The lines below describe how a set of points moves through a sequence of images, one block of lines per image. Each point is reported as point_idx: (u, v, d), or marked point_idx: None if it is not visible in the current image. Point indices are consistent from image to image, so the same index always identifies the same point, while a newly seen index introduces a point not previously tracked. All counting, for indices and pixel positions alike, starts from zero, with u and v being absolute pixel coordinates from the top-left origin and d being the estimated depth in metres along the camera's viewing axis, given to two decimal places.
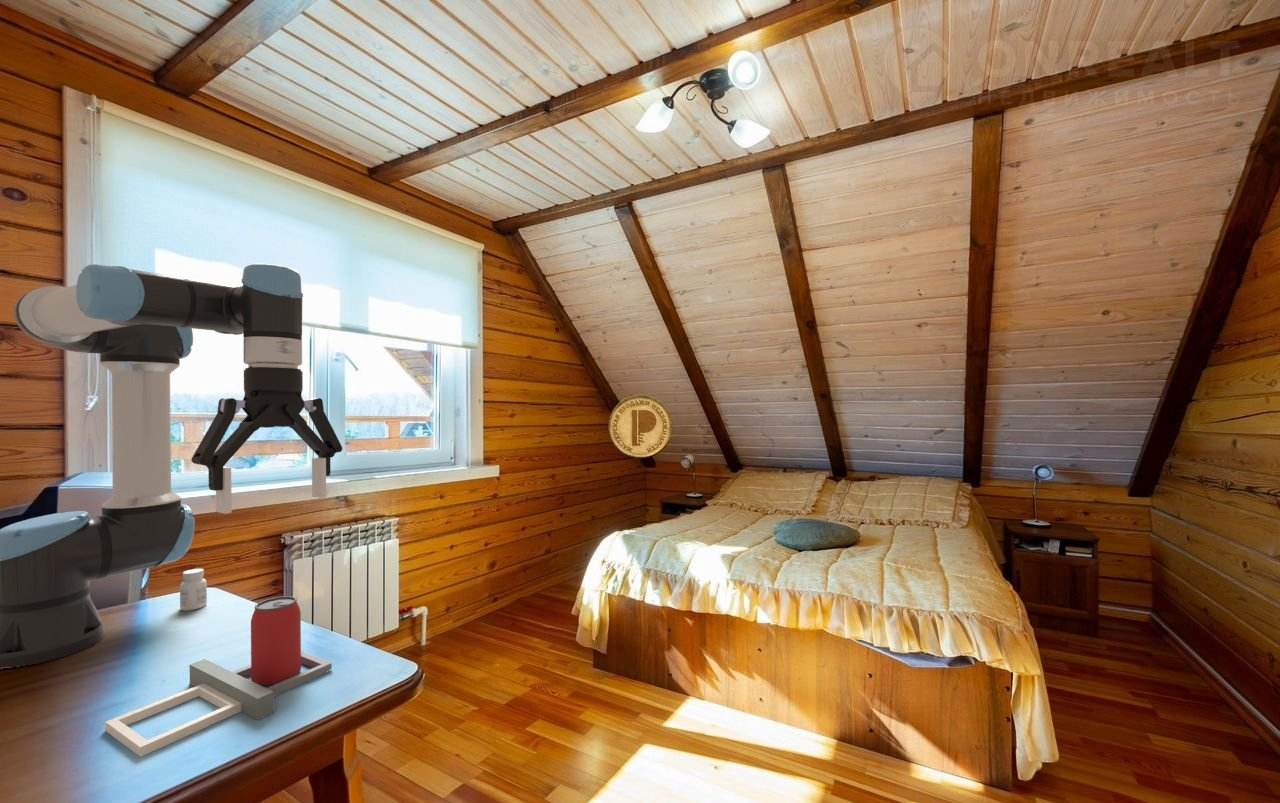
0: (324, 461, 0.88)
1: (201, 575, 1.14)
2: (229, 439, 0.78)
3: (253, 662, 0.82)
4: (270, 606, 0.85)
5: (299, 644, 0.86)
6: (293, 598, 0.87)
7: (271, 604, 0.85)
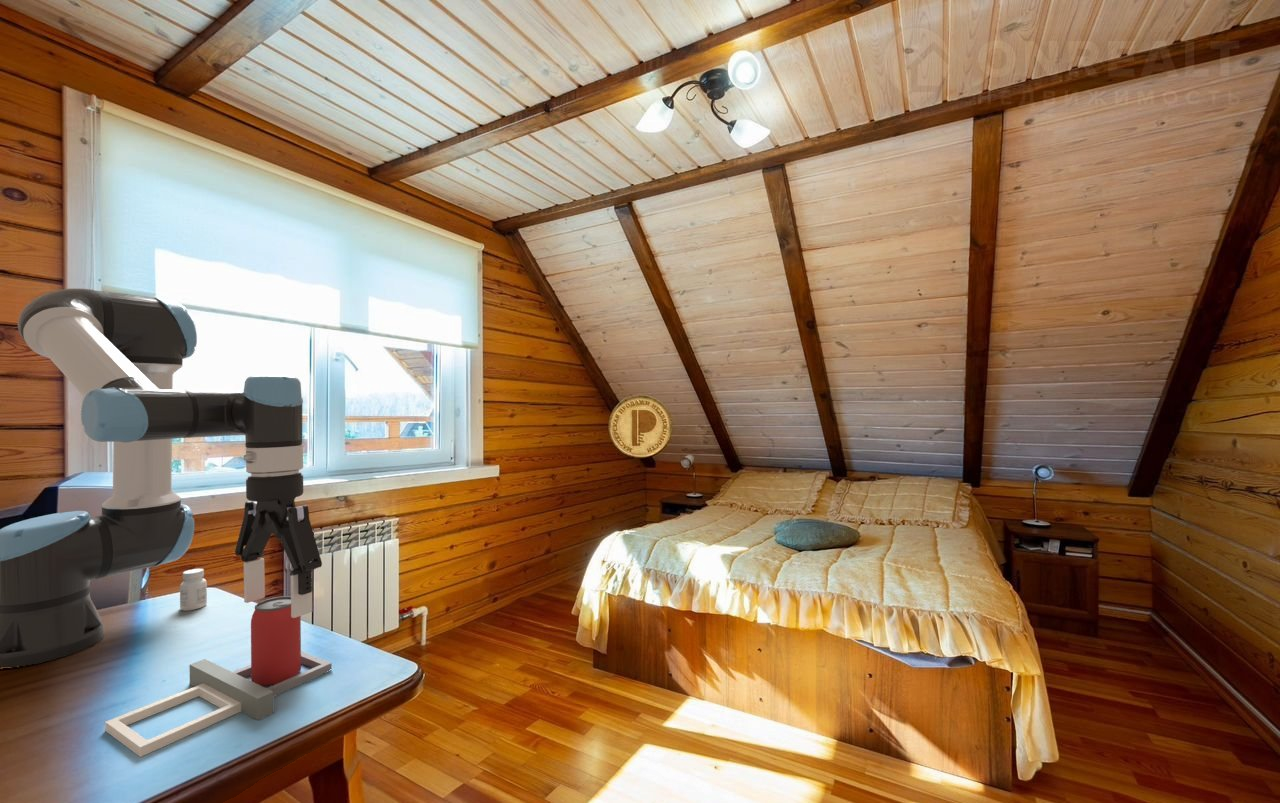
0: (292, 578, 0.80)
1: (201, 575, 1.14)
2: None
3: (253, 662, 0.82)
4: (270, 606, 0.85)
5: (299, 644, 0.86)
6: None
7: (271, 604, 0.85)
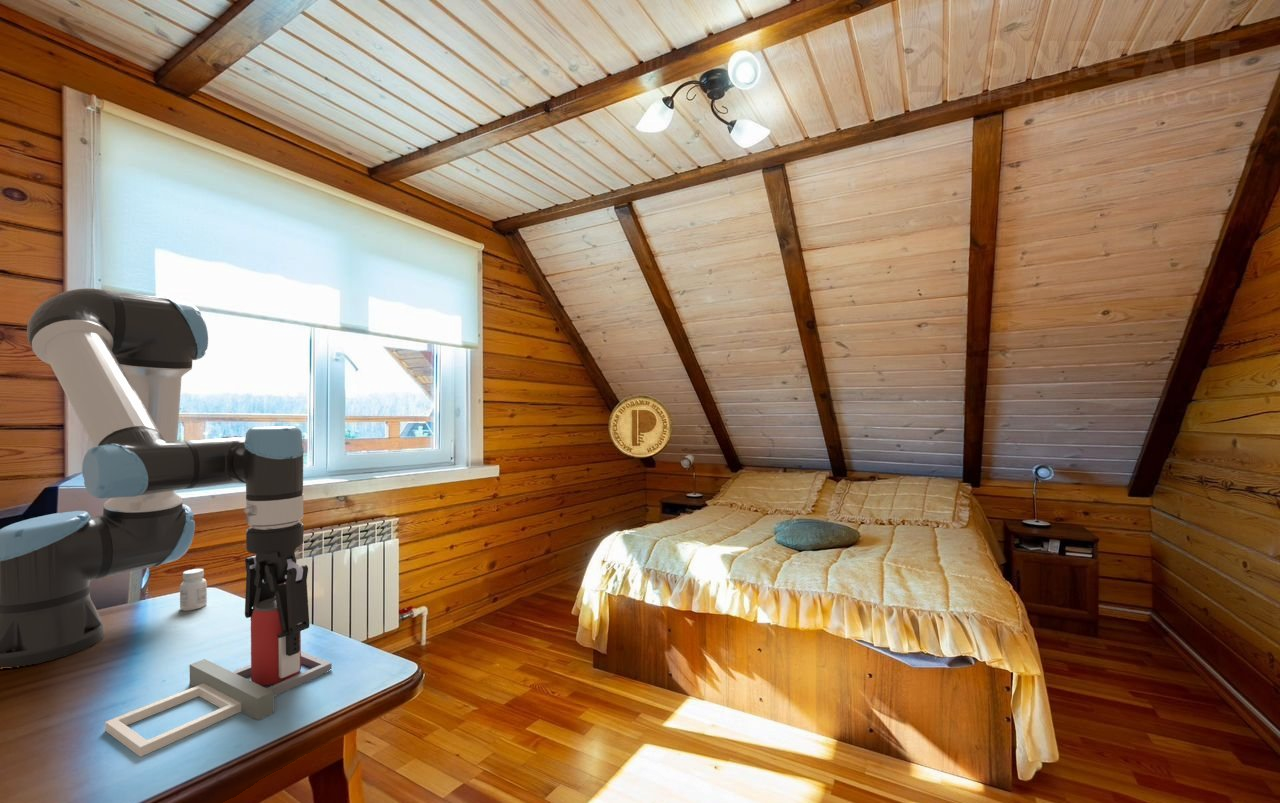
0: (280, 639, 0.82)
1: (201, 575, 1.14)
2: None
3: (252, 662, 0.82)
4: (270, 605, 0.85)
5: None
6: None
7: (271, 604, 0.85)
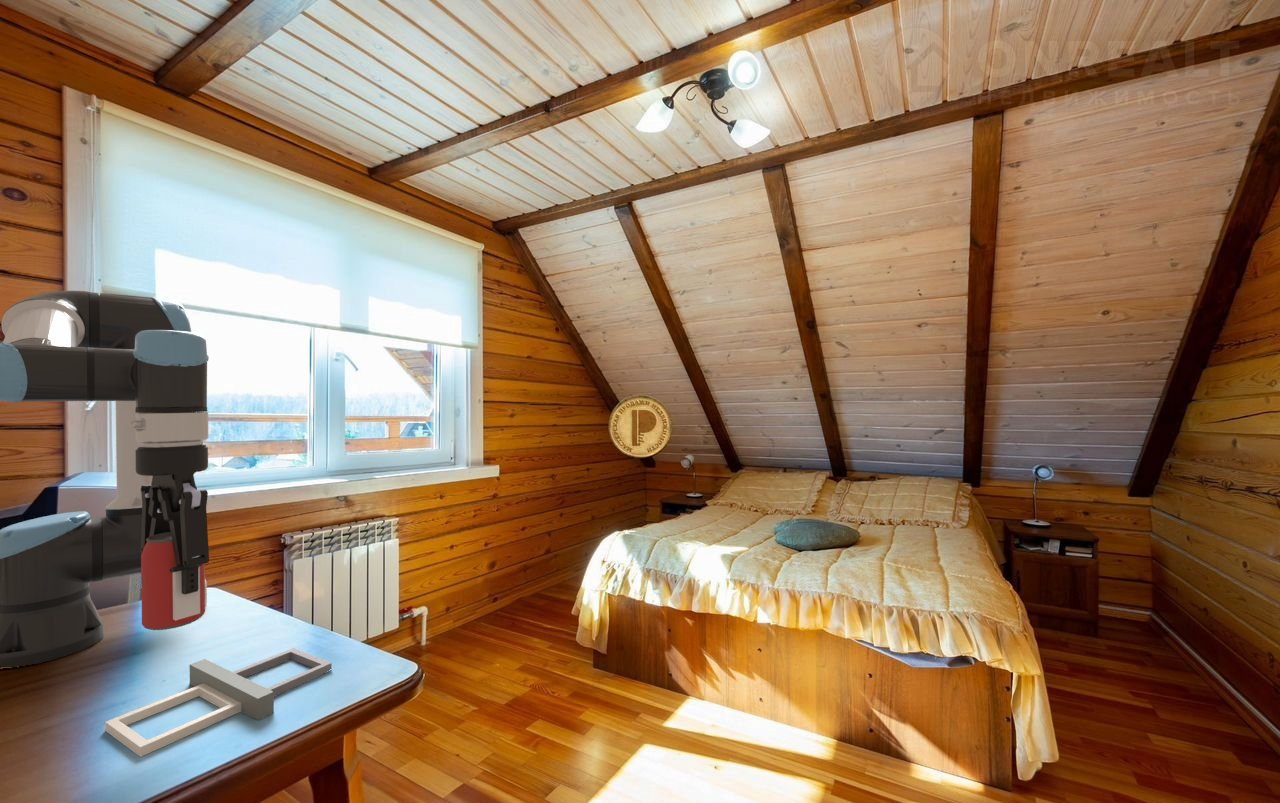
0: (174, 575, 0.71)
1: None
2: None
3: (142, 602, 0.71)
4: (166, 538, 0.73)
5: (201, 584, 0.74)
6: None
7: (168, 537, 0.74)
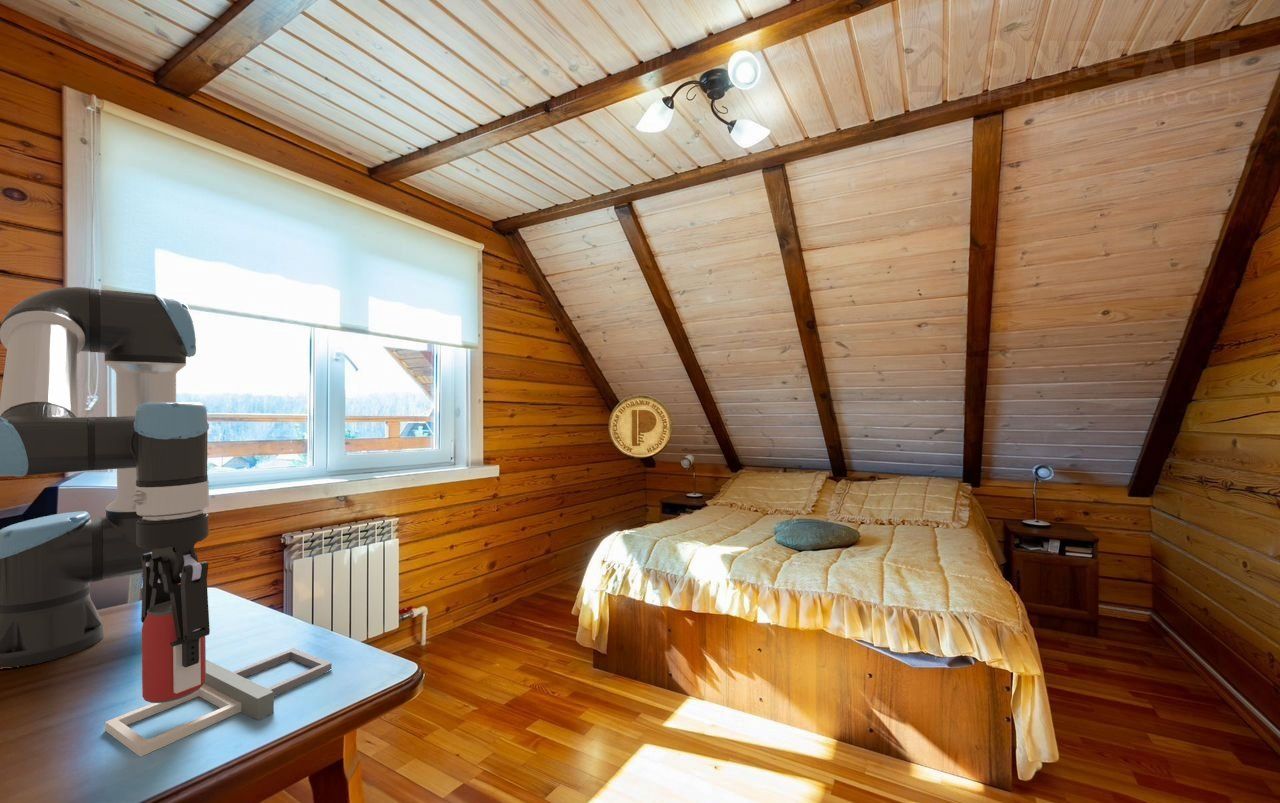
0: (174, 648, 0.71)
1: None
2: None
3: (143, 675, 0.71)
4: (166, 609, 0.73)
5: (202, 653, 0.74)
6: None
7: (168, 607, 0.74)
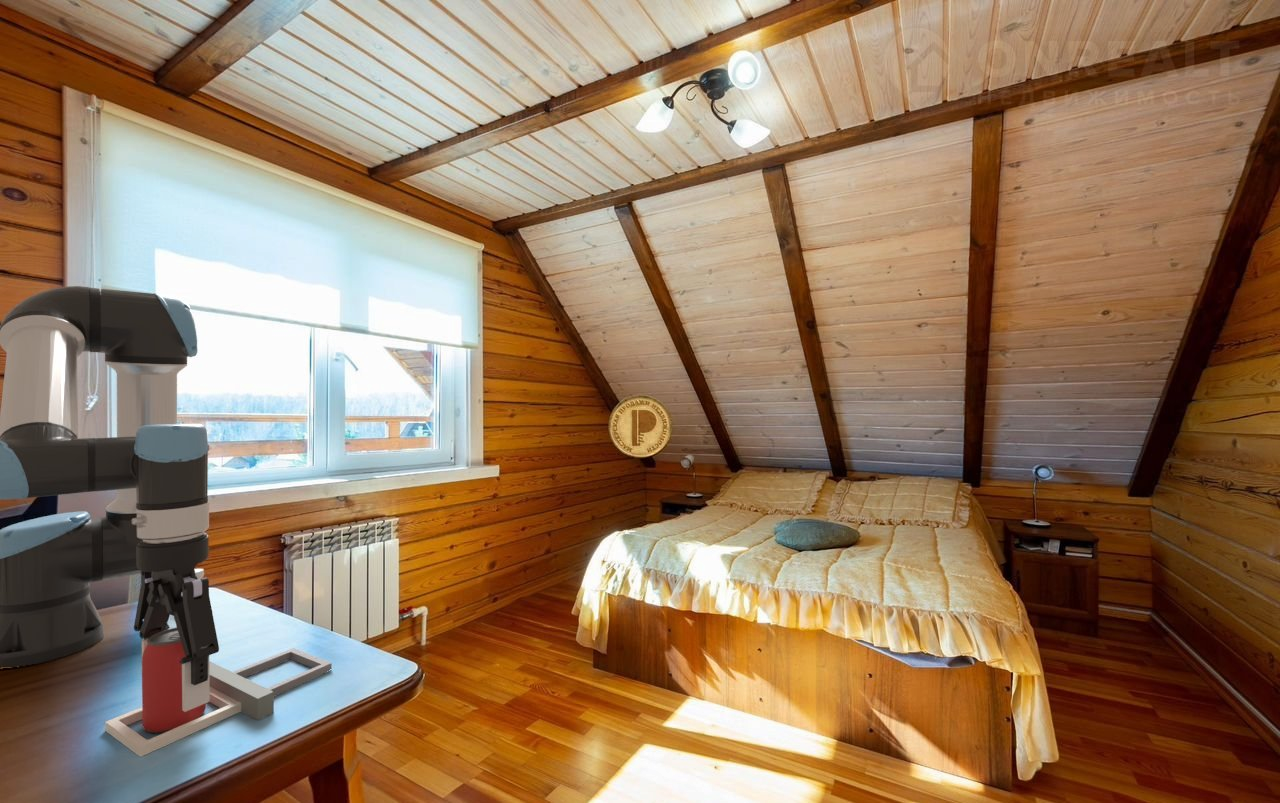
0: (183, 665, 0.70)
1: (201, 575, 1.14)
2: None
3: (143, 705, 0.71)
4: (166, 638, 0.73)
5: None
6: None
7: (169, 636, 0.74)
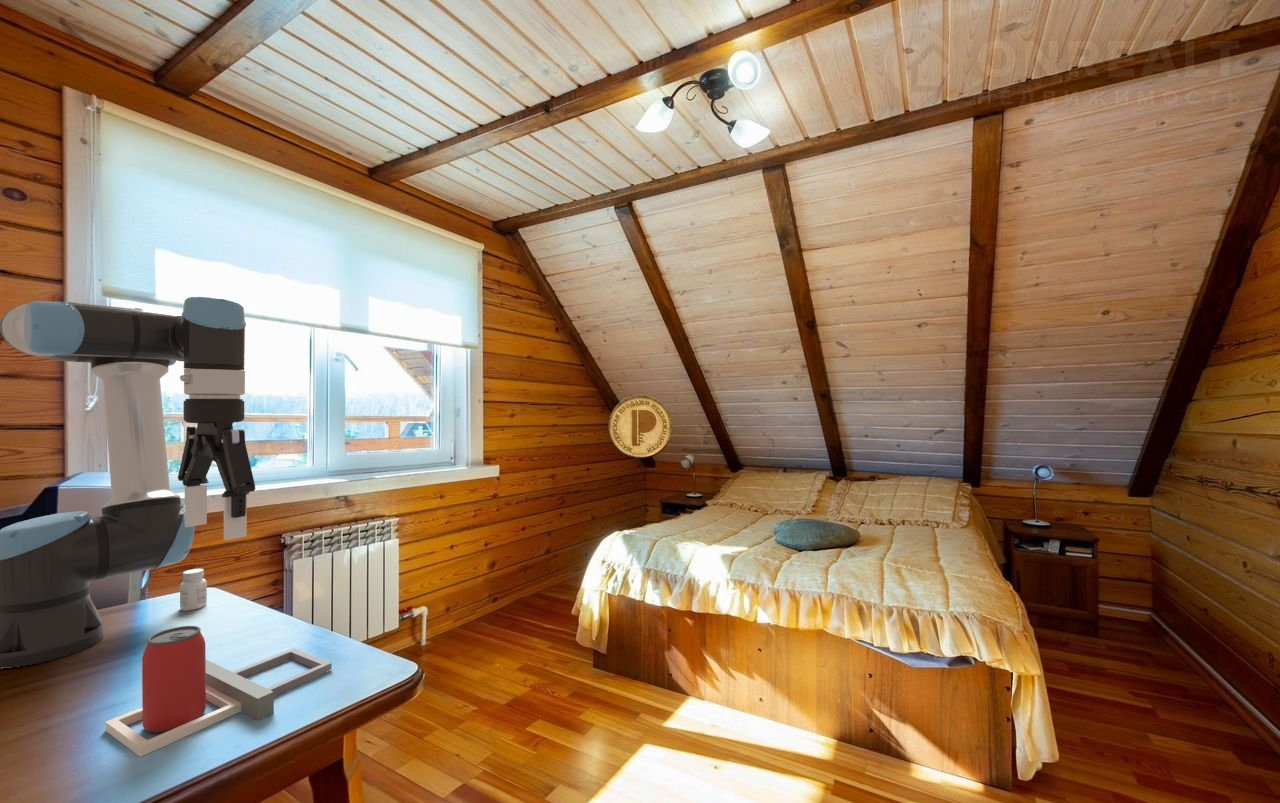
0: (225, 500, 0.80)
1: (201, 575, 1.14)
2: None
3: (143, 705, 0.71)
4: (166, 638, 0.73)
5: (202, 682, 0.75)
6: (197, 628, 0.76)
7: (169, 636, 0.74)
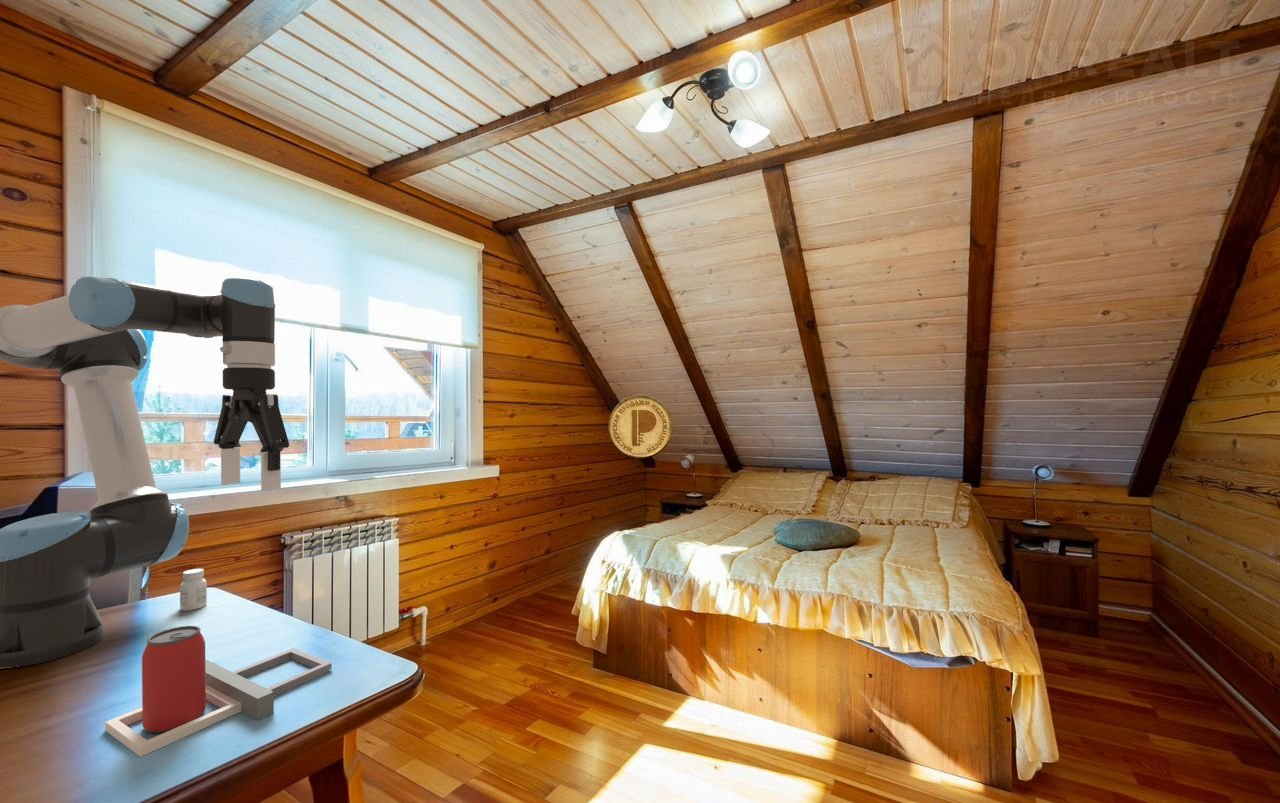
0: (262, 455, 0.91)
1: (201, 575, 1.14)
2: None
3: (143, 705, 0.71)
4: (166, 638, 0.73)
5: (202, 682, 0.75)
6: (197, 628, 0.76)
7: (169, 636, 0.74)
